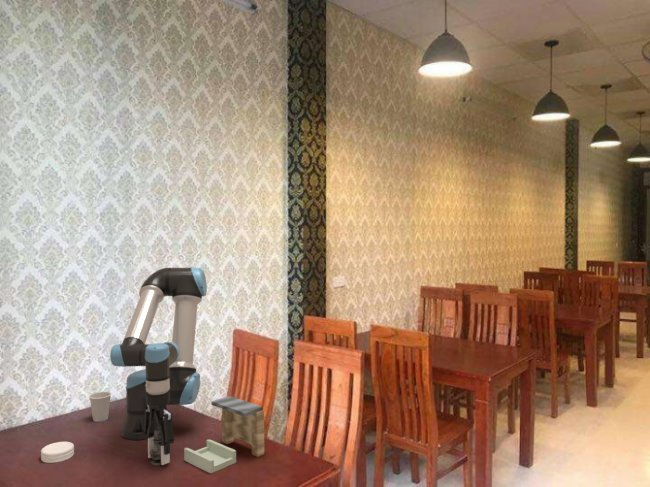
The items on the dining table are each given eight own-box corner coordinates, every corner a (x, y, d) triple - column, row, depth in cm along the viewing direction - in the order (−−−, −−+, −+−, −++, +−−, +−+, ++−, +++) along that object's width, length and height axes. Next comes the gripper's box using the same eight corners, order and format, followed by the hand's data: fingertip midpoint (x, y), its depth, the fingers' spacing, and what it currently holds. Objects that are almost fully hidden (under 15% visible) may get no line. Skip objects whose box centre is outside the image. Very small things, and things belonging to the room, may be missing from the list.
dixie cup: (84, 421, 208) (84, 397, 207) (99, 414, 216) (99, 390, 215) (101, 423, 205) (101, 398, 205) (116, 416, 213) (115, 392, 213)
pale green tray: (184, 460, 172) (184, 448, 172) (209, 450, 180) (209, 439, 180) (210, 473, 163) (210, 461, 162) (236, 462, 170) (236, 450, 170)
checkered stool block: (211, 446, 183) (210, 401, 183) (228, 439, 189) (228, 395, 189) (246, 461, 171) (245, 413, 170) (264, 453, 177) (263, 407, 176)
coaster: (80, 454, 177) (80, 444, 177) (52, 466, 169) (52, 455, 169) (62, 448, 182) (62, 438, 182) (34, 459, 174) (34, 449, 174)
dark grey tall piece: (162, 466, 168) (162, 429, 167) (146, 464, 169) (145, 428, 169) (171, 458, 174) (170, 423, 173) (155, 457, 175) (154, 422, 174)
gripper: (131, 388, 174) (132, 455, 175) (164, 400, 161) (165, 473, 162) (151, 383, 180) (152, 448, 181) (185, 394, 167) (186, 464, 168)
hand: (158, 459), depth 171 cm, fingers open, 7 cm apart
